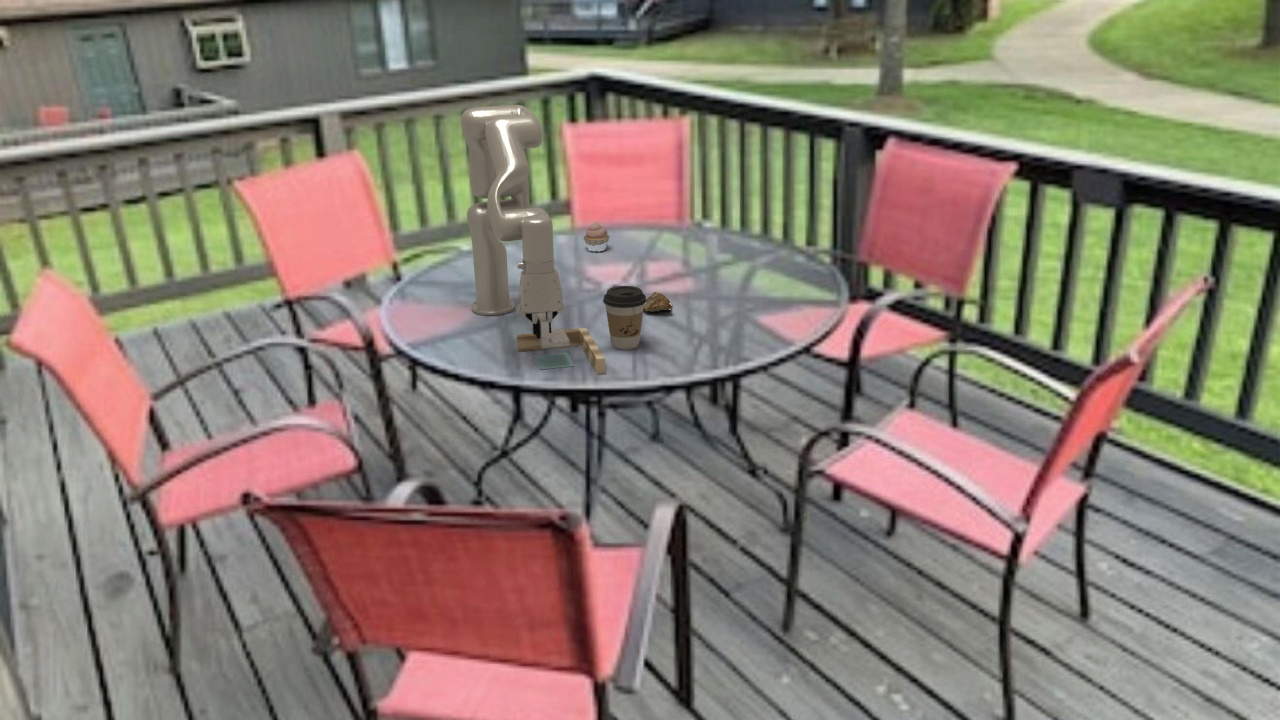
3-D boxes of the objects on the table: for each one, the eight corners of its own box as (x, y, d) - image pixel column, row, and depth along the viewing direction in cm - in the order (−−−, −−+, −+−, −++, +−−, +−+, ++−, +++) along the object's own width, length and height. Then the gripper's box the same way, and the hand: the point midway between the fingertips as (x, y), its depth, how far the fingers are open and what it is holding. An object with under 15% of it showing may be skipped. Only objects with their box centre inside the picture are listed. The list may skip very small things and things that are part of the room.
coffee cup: (613, 355, 257) (612, 300, 251) (597, 340, 266) (596, 287, 260) (653, 348, 261) (653, 294, 255) (636, 334, 270) (636, 282, 265)
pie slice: (643, 302, 280) (636, 291, 295) (644, 317, 282) (637, 305, 296) (677, 299, 282) (668, 289, 296) (677, 314, 283) (669, 303, 297)
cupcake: (613, 247, 348) (613, 219, 344) (605, 254, 340) (604, 226, 336) (588, 245, 350) (587, 217, 347) (579, 252, 342) (578, 224, 338)
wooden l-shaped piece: (517, 348, 261) (516, 334, 260) (586, 341, 266) (585, 327, 264) (531, 381, 242) (530, 366, 240) (605, 373, 246) (604, 358, 245)
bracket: (536, 337, 254) (535, 311, 251) (563, 334, 256) (562, 308, 253) (541, 348, 247) (540, 322, 244) (569, 345, 248) (568, 319, 246)
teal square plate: (534, 356, 256) (534, 355, 256) (567, 353, 258) (567, 352, 258) (540, 369, 248) (540, 369, 248) (574, 366, 250) (574, 365, 250)
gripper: (509, 273, 238) (513, 344, 245) (573, 267, 241) (576, 338, 248) (504, 264, 244) (509, 334, 251) (567, 259, 248) (570, 328, 255)
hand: (542, 335), depth 250 cm, fingers closed on bracket
